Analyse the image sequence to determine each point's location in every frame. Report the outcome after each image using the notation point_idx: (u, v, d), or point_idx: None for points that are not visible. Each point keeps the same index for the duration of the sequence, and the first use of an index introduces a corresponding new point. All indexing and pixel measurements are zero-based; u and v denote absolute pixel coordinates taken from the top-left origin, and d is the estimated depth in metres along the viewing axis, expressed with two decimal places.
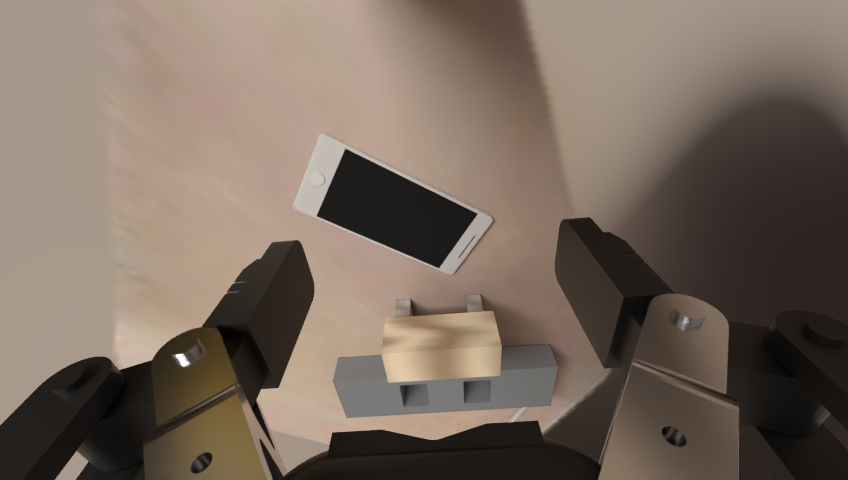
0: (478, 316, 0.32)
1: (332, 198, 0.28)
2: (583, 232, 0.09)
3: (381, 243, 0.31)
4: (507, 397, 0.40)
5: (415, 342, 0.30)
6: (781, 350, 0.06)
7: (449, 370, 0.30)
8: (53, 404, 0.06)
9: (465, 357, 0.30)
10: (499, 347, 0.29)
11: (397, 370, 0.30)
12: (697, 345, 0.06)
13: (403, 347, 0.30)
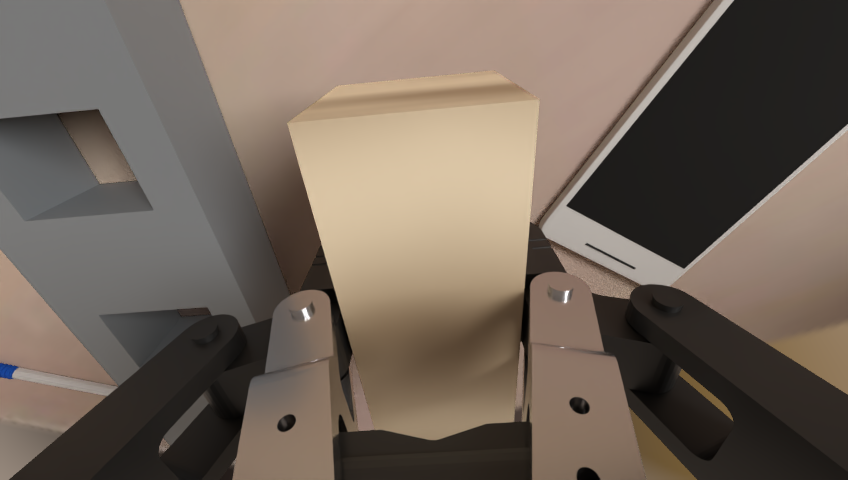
0: None
1: None
2: None
3: (686, 55, 0.11)
4: None
5: None
6: (641, 326, 0.07)
7: (405, 353, 0.08)
8: (190, 351, 0.07)
9: (471, 387, 0.09)
10: None
11: (398, 176, 0.06)
12: (557, 312, 0.07)
13: None
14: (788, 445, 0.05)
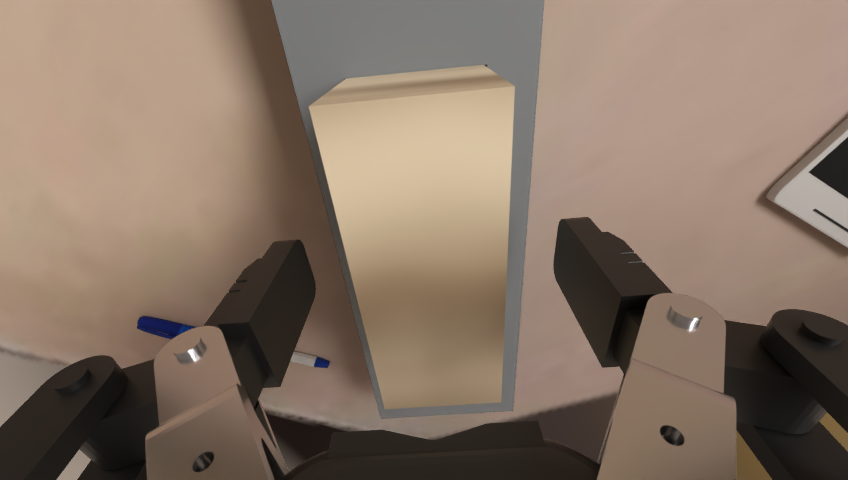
0: None
1: None
2: (581, 232, 0.09)
3: None
4: None
5: None
6: (778, 349, 0.06)
7: (405, 312, 0.10)
8: (56, 403, 0.06)
9: (464, 343, 0.10)
10: (494, 398, 0.12)
11: (400, 151, 0.07)
12: (694, 344, 0.06)
13: None
14: None
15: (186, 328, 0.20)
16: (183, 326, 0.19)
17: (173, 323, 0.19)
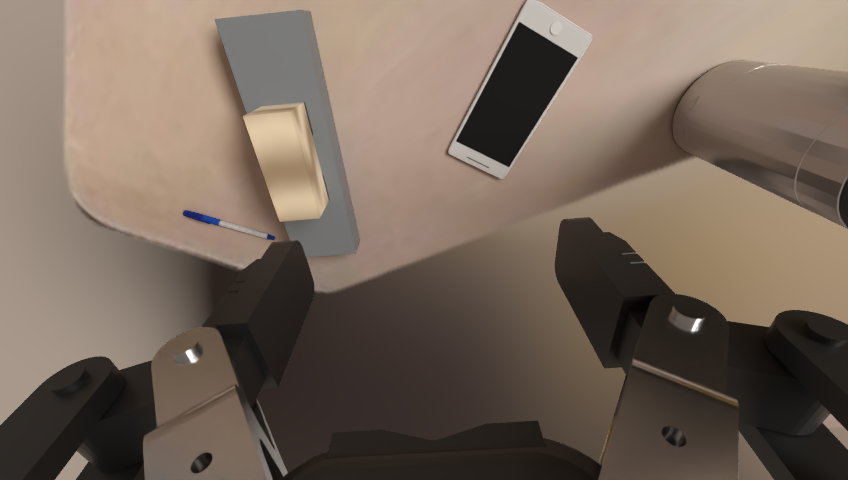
0: (324, 190, 0.36)
1: (535, 41, 0.32)
2: (583, 232, 0.09)
3: (484, 86, 0.34)
4: None
5: (302, 142, 0.31)
6: (781, 350, 0.06)
7: (278, 178, 0.32)
8: (53, 404, 0.06)
9: (299, 190, 0.33)
10: (317, 216, 0.34)
11: (266, 127, 0.29)
12: (697, 345, 0.06)
13: (297, 132, 0.30)
14: None
15: (205, 216, 0.42)
16: (204, 215, 0.42)
17: (199, 214, 0.42)
